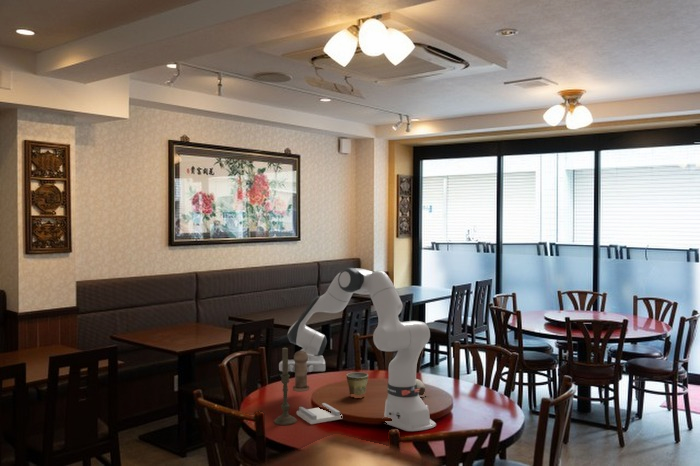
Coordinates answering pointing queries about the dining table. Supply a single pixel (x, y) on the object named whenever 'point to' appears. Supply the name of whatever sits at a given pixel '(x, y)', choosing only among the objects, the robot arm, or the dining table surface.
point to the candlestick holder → (285, 393)
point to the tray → (319, 414)
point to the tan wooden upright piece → (300, 371)
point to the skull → (420, 386)
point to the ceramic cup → (357, 382)
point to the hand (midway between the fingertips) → (300, 369)
